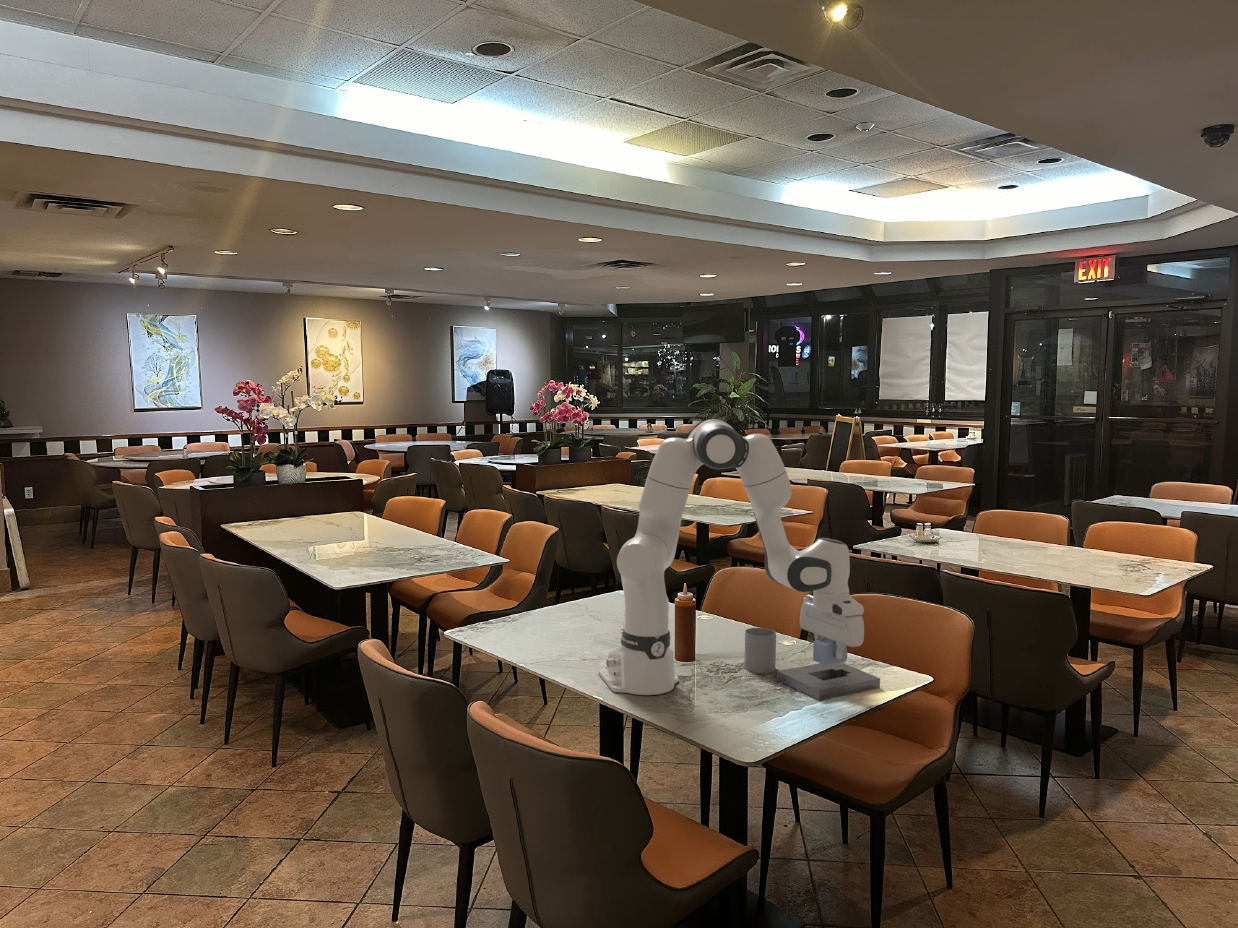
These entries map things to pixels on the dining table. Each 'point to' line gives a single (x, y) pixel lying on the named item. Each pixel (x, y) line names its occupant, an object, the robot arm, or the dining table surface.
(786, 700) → the dining table surface
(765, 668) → the cup
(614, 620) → the dining table surface
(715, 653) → the dining table surface
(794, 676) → the frame
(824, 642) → the block
